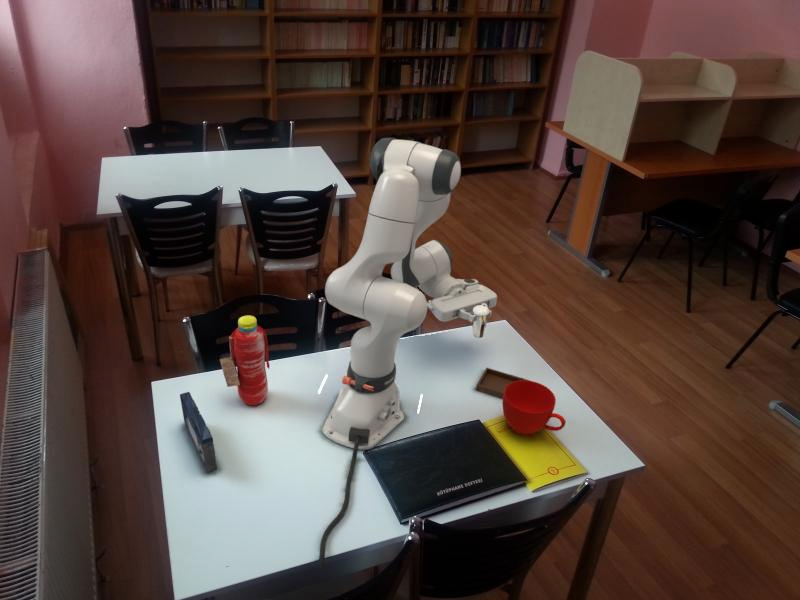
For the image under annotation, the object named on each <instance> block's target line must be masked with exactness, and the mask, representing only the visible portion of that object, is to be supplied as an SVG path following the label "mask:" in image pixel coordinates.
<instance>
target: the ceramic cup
mask: <svg viewBox="0 0 800 600" xmlns="http://www.w3.org/2000/svg"><path fill="white" fill-rule="evenodd" d="M528 380H529V379H527V380H519V381H514V382H512V383H510V384H508V385H507V386H506V388H505V390H504V394H503V398H502V413H503V416H504V418H505V420H506V422H507V424H508V425H509V426H510V428H511V429H512V431H514V432H516V433H518V434H520V435H524V436H527V435H529V436H530V435H532V434H535V433H537V432H539V431H541V430H542V429H545V430H547V431H554V432H557V431H561V430H562V429H564V427H565V426H566V419H565V418H564V417H563V416H562V415H561V414H559V413H554V410H555V407H556V402H557V400H556V396H555V394H554V392H553V391H552V390H551V389H550V388H549V387H547V386H545V385H544V384H542V383H539V382H537V381H535V380H534V381H533V380H530V381H528ZM552 418H554V419H555V418H556V419H557V420H559V422H560V426H552V425H548V423H549V421H550V419H552Z"/></svg>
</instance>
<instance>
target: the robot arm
mask: <svg viewBox="0 0 800 600" xmlns="http://www.w3.org/2000/svg"><path fill="white" fill-rule="evenodd" d="M461 162H462V161H461V160H460V158H459V156H458V155H457V154H456V153H455V152H453V151H451V150H448V149H446V148H444V149H441V148H439V147H436V146H433V145H429V144H425V143H422V142H420V141H415V140H409V139H397V138H396V137H384V138H380V139H379V140H378V141H377V142H376V143H375V144H374V145H373V147H372V150H371V153H370V158H369V169H370V171H371V174H372V177H373V178H374V179H375V181H376V185H375V187H374V190H373V193H372V196H371V198H370V199H371V200H370V203H369V208H368V213H367V216H366V217H367V218H366V222H365V227H364V231H363V235H362V238H361V242H360V245H359V247H358V249H357V250H356V252H355V254H354V255H353V257H352V258H351V259H350V260H349V261H348V262H347V263H345V264H344V265H342V266H340V267H338V268H336V269H335V270H333V271H332V273H330V274H329V276H328V277H327V279H326V282H325V286H324V295H325V298H326V301H327V303H328V304H329V305H331V306H332V307H334V308H336V309H337V310H339V311H341V312H343V313H344V314H348V315H351V316H354V317H356V318H359V319H362V320H365V321H366V322H369V324H370V325H366V326H364V327H361V328H360V329H358V330H357V331H356V332H355V333H354V334H353V336H352V337H351V339H350V360H349V363H348V365H347V370H346V375H344V376H343V377H342V379H341V384H343V385H342V387H341V390H340V391H339V394H338V396H337V398H336V400H335V402H334V404H333V406H332V408H331V410H330V412H329V414H328V416H327V418H326V420H325V422H324V424H323V425H322V429H321V432H322V433H323V435H324V436H325V437H326V438H327V439H329V440H331V441H332V442H334V443H337V444H339V445H341V446H344V447H347V448H351V449H353V450H352V455H351V462H350V466H349V470H348V475H347V479H346V483H345V491H344V492H345V493H344V501H343V504H342V507H341V510H340V511H339V513H338V514H337V515H336V516H335V518H334V519H332V521H331V522H330V523H329V524H328V525H327V527H326V528H325V530H324V532H323V534H322V537H321V540H320V546H319V557H318V558H319V559H318V567H319V569H320V568H323V567H324V564H325V555H326V543H327V540H328V537H329V535H330V532H331V531H332V530H333V528H334V527H335V526H336V525H337V524H338V523H339V522H340V520H341V519H342V518H343V516H344V515H345V514H346V511H347V510H348V506H349V502H350V497H351V484H352V479H353V474H354V471H355V467H356V462H357V457H358V450H360V451H361V450H363V451H364V450H371V449H373V448H374V447H376V445H377V444H378V443H380V442H381V441H382V440H383V439H384V438H385V437H386V436H387V435H389V433H391V432H392V431H393V430H394V429H395V428H396V427H397V426H398V425H400V423H402V422H403V421H404V420H405V415H404V413H403V412H402V410H401V407H400V404H401V403H400V401H401V400H400V390H399V387H398V386H397V383H396V381H395V380H396V376H397V365H396V362H395V360H396V353H397V352H396V351H397V345H398V342H399V340H400V339H401V337H403V336H404V335H405V334H406V333H409V332H412V331H414V330H416V329H417V328H419V327H420V326H421V325H422V323H423V322H424V321H425V318H426V316H427V312H428V310H430V311H431V313H432V314H433V316H434V317H435V318H436V319H437V320H438V321H440V322H443V323H446V322H451V321H453V320H457V319H461V320H465V321H469V323H473V322H474V321H476V318H477V317H476V316H475V315H474V314H473V310H472V308H474V307H475V306H477V305H483V306H485V307H487V308H488V309H489V315H488V318H489V317H492V313H493V312H492V310H490V309H491V308H494V307H496V306H497V302H498V295H497V293H496V292H495V291H493V290H492V289H490V288H489V287H487V286H485V285H483V284H479V281H478V279H475V278H471V279H462V278H455V277H453V276H452V275H451V273H452V270H453V261H454V260H453V254H452V252H451V250H450V248H449V247H448V246H447V245H446V244H444V243H443V242H442V241H439V240H436V239H432V240H430V241H428V242H426V243H424V244H421V245H420V246H419V247H417V248H416V244H417V241H418V239H419V237H420V236H421V235H422V234H423V233H424V232H425V231H426V230H427V229H428V228H429V227H431V226H432V225H433V224H434V223H435V222H437V221H439V219H440V218H442V217H443V216H444V214H446V212H447V211H448V208H449V206H450V202H451V193H452V192H454V191H455V189H456V187H457V185H458V183H459V181H460V179H461V173H462V163H461ZM386 265H390V268H389V272H390V273H389V274H390V277H391V278H389V277H385V276H383V271H384V268H385V267H386ZM416 287H419V288H420V289H421V290H422V291H423V292H424V294H423V293H422V292H421V291H419V290H417V289H415V288H416ZM426 295H427V296H428V297H430V298H432V299H429V300H427V298H426ZM327 378H328V374H325V376H324V378H323V380H322V382H321V384H320V387H319V389H318V395H320V394H321V391H322V389H323V387H324V385H325V382H326V381H327ZM419 398H420V399H419V402H418V403H419V404H418V408H417V414H420V410H421V405H422V400H423V394H422V393H421V394H420V397H419Z"/></svg>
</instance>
